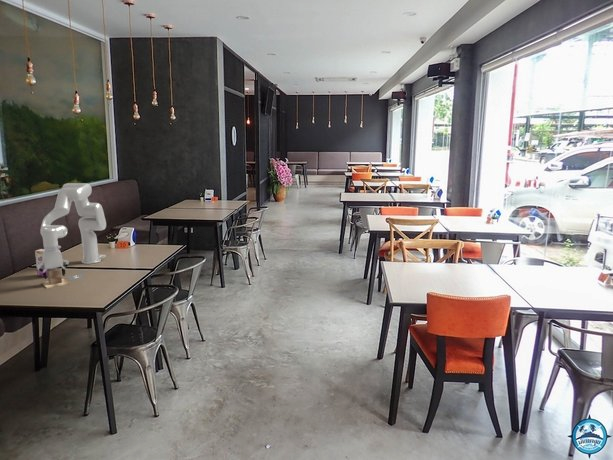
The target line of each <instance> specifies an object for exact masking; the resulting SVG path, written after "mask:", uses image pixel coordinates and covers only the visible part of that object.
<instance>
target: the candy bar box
mask: <svg viewBox="0 0 613 460" xmlns="http://www.w3.org/2000/svg"><path fill="white" fill-rule="evenodd" d="M43 252H44V248H39V249H36V250H34V257H35V264H36V266H37V265H38V264H40V263H42V262H43V260H42V255H43ZM40 268H41V269H43V268H44V267H43V265H42V266H40ZM50 269H53V268H50ZM36 272H37V276H39V277H43V272H41V271H40V270H39V269H38V268H37V267H36ZM45 272H46V276H47V278H48V273H47V270H46V271H45Z"/></svg>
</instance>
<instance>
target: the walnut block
mask: <svg viewBox="0 0 613 460" xmlns="http://www.w3.org/2000/svg"><path fill="white" fill-rule="evenodd" d="M47 273H48V277H47V278H48V279H47V281H49V283H50V284H51V285H53V284H58V283H62V279H63V278H62V269H60V267H57V268H53V269H47Z"/></svg>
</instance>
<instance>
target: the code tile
mask: <svg viewBox="0 0 613 460" xmlns="http://www.w3.org/2000/svg"><path fill="white" fill-rule="evenodd" d="M66 278H67V279H68V280H69V281H72V280H78V279H82V278H83V279H84V278H86V276H85V275H84V274H82V273H79V274H73V275H68V276H66Z"/></svg>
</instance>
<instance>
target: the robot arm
mask: <svg viewBox="0 0 613 460" xmlns="http://www.w3.org/2000/svg"><path fill="white" fill-rule="evenodd" d="M92 189H93V188H92V186H91V184H90V183H84V182H82V183H81V182H80V183H79V182H72V183H71V182H69V183H68V182H67V183H64V184H63V186H62V187H61V188H60V189H59V190H58V193H57V197H56V201H55V204H54V208H53V209H52V210H50V212H48V214H47V213H46V215H45V216H44V218H43V219H42V222H41V225H40V231H39V232H40V235H41V237H42V243H43V249H44V252H43V255H42V260H43V262H42V263H40V264H38V265H36V269H37V268H38V269H39V270H40V271H41V272H43V276H42V278H43V279H44V280H46V279H47V278H48V277H47V276H46V272H45V271H46V270H47V269H50V268H61V276H63V277H65V275H66V270H67V269H66V268H67V267H68V266H69V263H70V261H69V260H68V259H64V258H63V256H62V252H61V250H60V249H61V248H62V246H61V245H59V241H58V239H62V238H64V237H66V236H67V234H68V228H67V227H66V226H65V225H63V224H57V225H56V224H52V223H53V222H54V221H56V220H57V219H60V218H62V217H65V216H67V215H68V214H69V213H70V211H71V206H72V202H74V206H75V209H76V212H77V215H78V216H80V218H79V220H78V221H77V222H78V224H77V225H78V228H79V230H80V231H79V232H80V236H81V237H80V238H81V247H82V248H81V249H82V258H83V259H82V260H81V262H80V263H82V264H85V265H89V264H91V265H92V264H97V263H100V262H101V261H102V258H106V257H107V255H106V254H99V248H98V238H97V234H96V232H95V231H104V230H105V229H106V228H107V220H106V217H105V212H104V209H103V206H102V204H100V203H99V202H90V201H89V198H88V197H90V196H91V194H92ZM42 265H43V267H44V268H43V269H41V268H40V266H42ZM47 280H48V279H47Z"/></svg>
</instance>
